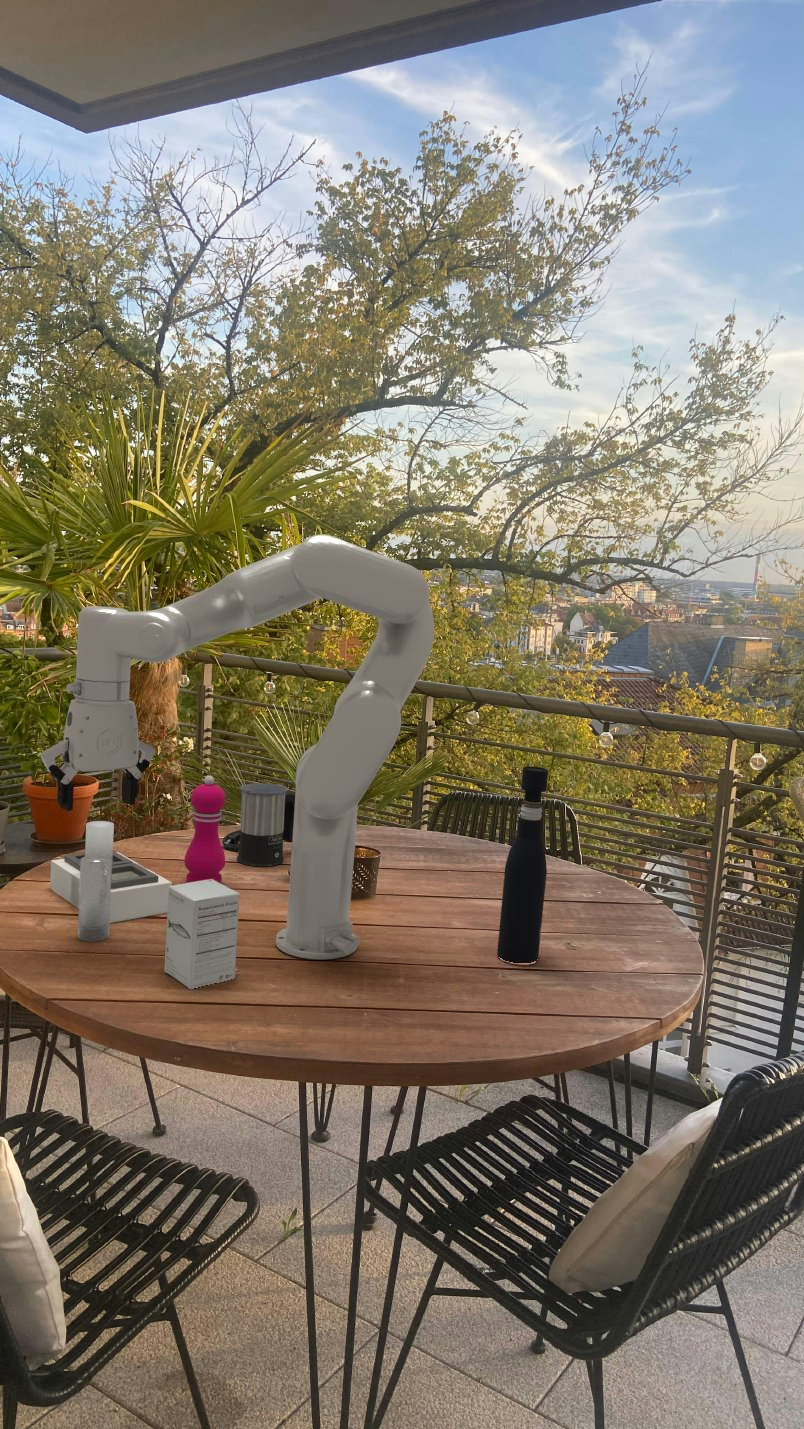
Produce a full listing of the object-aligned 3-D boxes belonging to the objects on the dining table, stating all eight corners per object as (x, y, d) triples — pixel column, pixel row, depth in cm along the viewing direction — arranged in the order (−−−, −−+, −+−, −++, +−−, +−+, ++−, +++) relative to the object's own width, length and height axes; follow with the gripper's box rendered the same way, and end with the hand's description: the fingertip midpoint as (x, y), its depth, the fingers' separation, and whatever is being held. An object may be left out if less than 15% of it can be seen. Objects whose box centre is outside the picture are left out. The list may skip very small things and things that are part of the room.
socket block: (170, 912, 160) (173, 840, 158) (101, 924, 152) (103, 849, 150) (116, 879, 175) (118, 813, 173) (50, 888, 167) (52, 820, 165)
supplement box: (162, 972, 136) (166, 884, 134) (209, 962, 141) (213, 877, 139) (189, 991, 130) (193, 900, 129) (236, 979, 135) (241, 892, 134)
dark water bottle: (489, 951, 153) (507, 764, 149) (525, 949, 156) (543, 764, 152) (508, 967, 147) (526, 772, 143) (545, 964, 150) (564, 773, 146)
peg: (114, 938, 147) (117, 861, 145) (85, 943, 144) (88, 865, 142) (101, 929, 150) (104, 853, 149) (72, 934, 147) (75, 857, 146)
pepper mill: (219, 892, 172) (225, 781, 169) (178, 889, 172) (184, 778, 169) (227, 880, 179) (233, 773, 176) (188, 877, 179) (193, 770, 176)
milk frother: (270, 870, 187) (274, 795, 185) (198, 857, 192) (201, 783, 190) (301, 853, 200) (306, 782, 198) (233, 841, 205) (237, 772, 203)
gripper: (54, 695, 134) (50, 817, 136) (168, 694, 145) (162, 806, 147) (33, 688, 139) (29, 805, 141) (145, 688, 151) (139, 796, 153)
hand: (97, 806), depth 144 cm, fingers open, 9 cm apart
